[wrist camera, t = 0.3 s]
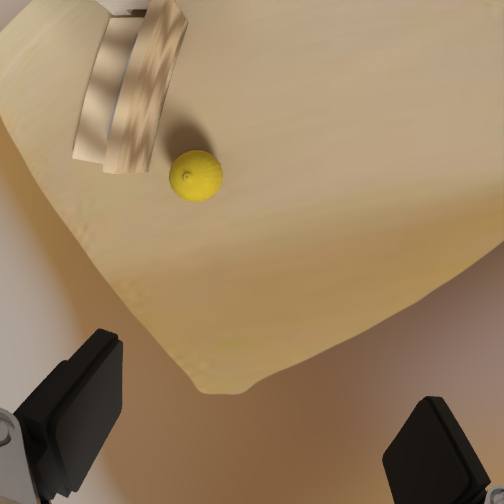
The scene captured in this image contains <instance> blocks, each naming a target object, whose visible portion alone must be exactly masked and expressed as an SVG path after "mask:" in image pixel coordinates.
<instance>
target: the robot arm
mask: <svg viewBox="0 0 504 504" xmlns="http://www.w3.org/2000/svg"><path fill="white" fill-rule="evenodd" d="M122 360H123V342H122V341H120V340H118V335H117V334H115V333H112V332H109V331H106V330H104V329H98V330H96V331H95V333H94V334H93V335H92V336H91V337H90V338H89V339H88V340H87V341H86V342H85V343H84V344H83V345H82V346H81V347H80V348H79V349H78V350H77V352H75V353H74V354H73V356H72V357H71V358H70V359H69V360H68V361H67V360H64V361H62V362H60V363H59V364H58V365H57V366H56V368H54V370H53V371H52V372H51V373H50V374H49V375H48V376H47V377H46V378H45V379H44V380H43V381H42V382H41V383H40V384H39V386H38V387H37V388H36V389H35V390H34V391H33V392H32V393H31V394H30V395H29V396H28V397H27V399H26V400H25V401H24V402H23V403H22V404H21V405H20V406H19V407H18V409H17V410H16V411H15V412H14V413H13V414H12V413H10V412H9V411H7V410H4V409H2V408H0V504H52V503H51V500H52V499H54V497H55V495H56V493H59V494H61V495H63V496H65V497H67V498H68V496H69V494H70V493H71V491H73V492H77V491H78V490H79V488H80V486H81V484H82V483H83V481H84V479H85V477H86V475H87V473H88V471H89V470H90V468H91V466H92V464H93V462H94V460H95V458H96V457H97V455H98V453H99V451H100V449H101V447H102V446H103V444H104V442H105V440H106V438H107V436H108V435H109V433H110V431H111V429H112V427H113V426H114V424H115V422H116V420H117V419H118V417H119V415H120V413H121V409H122V362H123V361H122ZM382 462H383V466H384V469H385V472H386V475H387V479H388V482H389V486H390V489H391V493H392V496H393V500H394V503H395V504H504V486H501V485H495V486H492V487H491V488H490V489H489V490H488V491H487V492H486V490H485V488H486V487H487V486H488V485H489V484H490V483H491V481H490V479H489V477H488V475H487V473H486V472H485V470H484V467H483V466H482V464H481V462H480V460H479V459H478V457H477V455H476V453H475V451H474V449H473V448H472V446H471V445H470V442H469V441H468V439H467V437H466V436H465V434H464V432H463V430H462V429H461V427H460V425H459V424H458V422H457V420H456V419H455V417H454V415H453V414H452V412H451V411H450V409H449V407H448V406H447V404H446V403H445V401H444V399H443V398H442V397H434V396H426V397H424V398H423V399H422V400H421V401H419V402H418V404H417V405H416V407H415V408H414V410H413V412H412V413H411V415H410V416H409V418H408V419H407V421H406V422H405V424H404V426H403V427H402V428H401V430H400V431H399V433H398V434H397V436H396V437H395V439H394V440H393V441H392V443H391V444H390V446H389V447H388V448H387V450H386V451H385V453H384V454H383V458H382Z"/></svg>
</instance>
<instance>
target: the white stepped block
mask: <svg viewBox="0 0 504 504" xmlns="http://www.w3.org/2000/svg"><path fill="white" fill-rule="evenodd" d="M96 1H97V2H98V3H100V4H101V5H102V6H103V7H104V8H106V9H107V10H108V11H109V12H110V13H112V14H113V15H131V13H132V11H133V9H148V7H149V4H150V2H151V0H96Z"/></svg>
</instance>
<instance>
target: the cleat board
mask: <svg viewBox="0 0 504 504" xmlns="http://www.w3.org/2000/svg"><path fill="white" fill-rule="evenodd" d="M187 25H188V22H187V20H186V19H185V17H184V15H183V14H182V12H181V11H180V9H179V7H178V6H177V4H176V3H175V1H174V0H151V2H150V4H149V7H148V9H147V12H146V14H145V17H144V18H110V21H109V24H108V26H107V29H106V32H105V34H104V37H103V40H102V43H101V46H100V49H99V52H98V55H97V58H96V61H95V64H94V68H93V71H92V74H91V78H90V81H89V85H88V89H87V92H86V96H85V100H84V104H83V108H82V112H81V117H80V121H79V126H78V130H77V135H76V140H75V145H74V151H73V156H72V158H73V159H79V160H84V161H90V162H96V163H101V164H104V166H103V172H107V173H112V174H123V173H135V172H148V169H149V164H150V160H151V155H152V150H153V146H154V141H155V137H156V133H157V128H158V124H159V120H160V116H161V112H162V108H163V105H164V101H165V97H166V93H167V90H168V86H169V83H170V79H171V76H172V72H173V69H174V66H175V62H176V59H177V56H178V53H179V49H180V46H181V43H182V40H183V37H184V34H185V31H186V28H187Z"/></svg>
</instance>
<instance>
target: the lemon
mask: <svg viewBox="0 0 504 504" xmlns="http://www.w3.org/2000/svg"><path fill="white" fill-rule="evenodd" d="M222 178H223V173H222V168H221V165H220V163H219V162H218V160H217V159H216V158H215V157H214V156H213V155H212V154H210V153H208V152H205V151H201V150H192V151H188V152H185V153H184V154H182V155H180V156H179V157H178V158H177V159H176V160H175V161H174V163H173V164H172V166H171V169H170V172H169V180H170V185H171V187H172V189H173V191H174V192H175V193H176V194H177V195H178V196H179V197H181V198H182V199H184V200H187V201H191V202H200V201H204V200H207V199H209V198H210V197H212V196H213V195H214V194H215V193H216V192H217V191H218V190H219V188H220V186H221V183H222Z"/></svg>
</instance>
